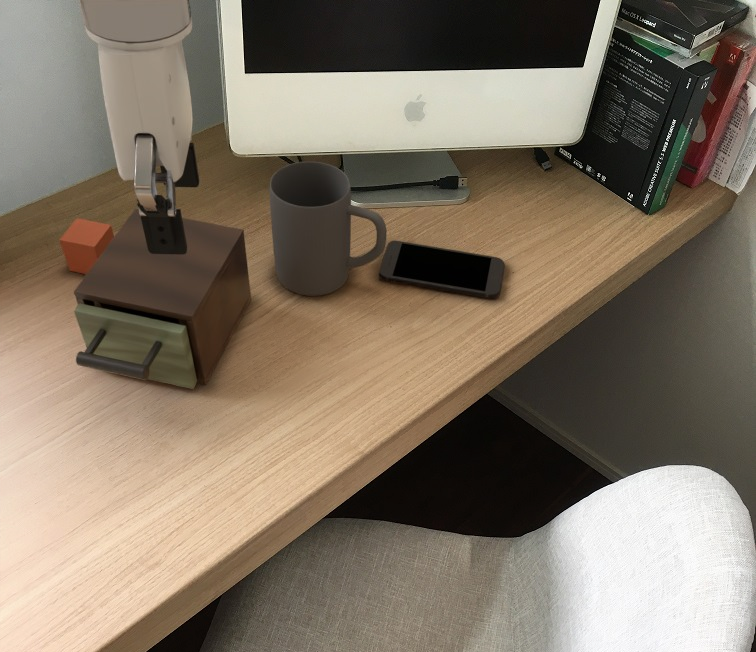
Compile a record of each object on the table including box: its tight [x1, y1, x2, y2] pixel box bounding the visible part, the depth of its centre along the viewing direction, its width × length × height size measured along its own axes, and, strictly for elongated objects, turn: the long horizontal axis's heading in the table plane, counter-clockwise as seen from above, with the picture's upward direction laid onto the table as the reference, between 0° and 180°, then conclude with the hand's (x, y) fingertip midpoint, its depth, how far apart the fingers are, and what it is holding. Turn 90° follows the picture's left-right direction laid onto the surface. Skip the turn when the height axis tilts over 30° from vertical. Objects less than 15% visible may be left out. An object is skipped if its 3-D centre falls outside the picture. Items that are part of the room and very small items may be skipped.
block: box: [59, 217, 115, 275], centre depth 94 cm, size 4×4×4 cm
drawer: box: [73, 301, 198, 390], centre depth 83 cm, size 18×11×8 cm, turn 166°
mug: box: [269, 161, 388, 297], centre depth 91 cm, size 14×9×12 cm
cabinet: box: [73, 208, 252, 386], centre depth 85 cm, size 15×13×10 cm
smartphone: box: [378, 240, 506, 299], centre depth 97 cm, size 7×15×1 cm, turn 79°
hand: (175, 217), depth 69 cm, fingers open, 9 cm apart
